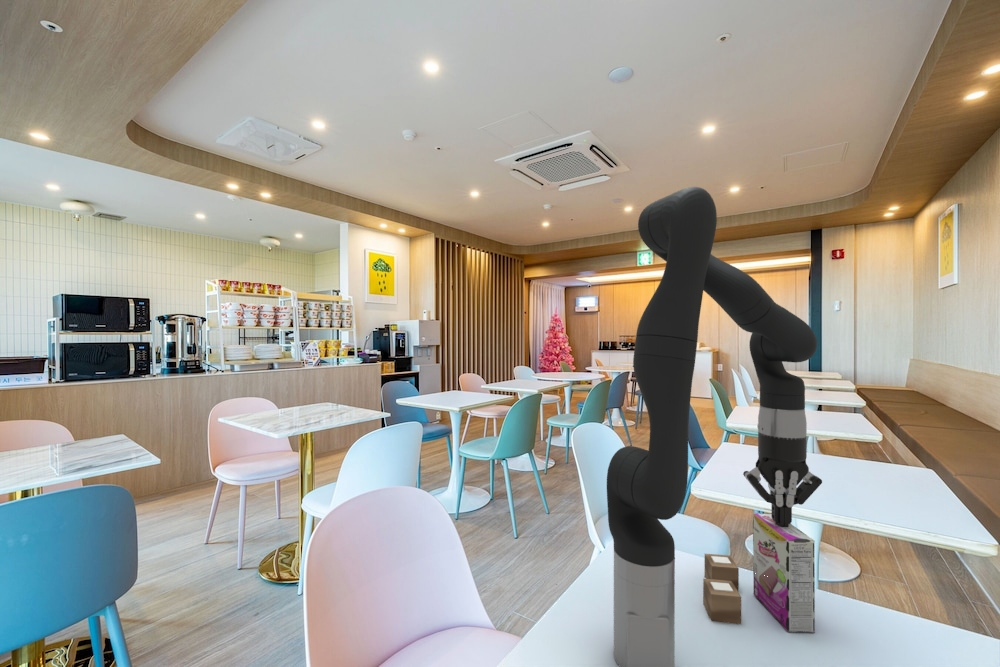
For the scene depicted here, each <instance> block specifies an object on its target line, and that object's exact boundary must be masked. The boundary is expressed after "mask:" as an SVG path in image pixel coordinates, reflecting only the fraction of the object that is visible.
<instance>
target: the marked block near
mask: <svg viewBox="0 0 1000 667" xmlns="http://www.w3.org/2000/svg"><path fill="white" fill-rule="evenodd" d="M702 581H703V582H702V584H703V586H702V590H703V591H702V592H703V594H702V595H703V596H702V599H703V600H702V601H703V603H702V605H703V606H704V607H703V608H705V611H706V612H707V615H708V617H709V620H710V621H711V622H714V623H725V624H732V625H735V624H736V625H742V596H741V593H740V592H738V591H737V589H736V588H735V586H734V584H733V583H732V581H725V580H714V579H706V578H703V580H702Z"/></svg>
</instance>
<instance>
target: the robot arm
mask: <svg viewBox="0 0 1000 667" xmlns="http://www.w3.org/2000/svg"><path fill="white" fill-rule="evenodd" d="M717 214H718V213H717V207H716V204H715V201H714V198H713V197H712V196H711V193H709V192H708V191H707V190H706V189H704V188H703V187H699V186H691V187H687V188H681V189H680V190H678V191H675V192H673V193H671V194H669V195H667V196H665V197H662V198H659V199H657V200H655V201H654V202H651V203H650V204H648V205H647V206H646V207H644V209H643V210H642V211H641V213H640V214H639V217H638V221H637V222H638V223H637V225H638V226H637V228H638V230H637V231H638V233H639V236H640V238H641V240H642V242H643V243H644V244H645V246H646V247H647V248H649V249H650V251H652V252H653V253H654V254H656V255H657V256H658V257H659V258H660V259H662V260H664V261H665V268H664V271H663V275H662V277H661V279H660V282H659V284H658V286H657V288H656V289H655V291H654V293H653V295H652V296H651V299H650V300H649V302H648V304H646V307H645V309H644V311H643V312H642V315H641V317H640V319H639V322H638V325H637V329H636V334H635V341H634V342H635V343H634V350H633V358H632V360H633V362H632V366H633V371H634V372H633V373H634V377H635V380H636V383H637V385H638V388H639V391H640V393H641V396H642V399H643V401H644V404H645V408H646V411H647V414H648V421H649V441H648V442H649V443H648V444H649V445H648V450H647V449H645V448H642V447H638V446H632V445H628V446H623V447H621V448H619V449H618V450H617V451H616V452H615V453H614V454H613V455H612V457H611V459H610V462H609V464H608V468H607V474H606V500H607V501H606V502H607V518H608V519H607V520H608V523H607V524H608V530H609V532H610V535H611V537H612V540H613V657H614V659H615V662H616V663H617V665H618V664H619V665H620V666H621V667H675V665H676V664H675V662H676V661H675V657H676V656H675V650H676V649H675V647H676V645H675V644H676V643H675V642H676V640H675V627H676V626H675V623H676V622H675V614H676V613H675V605H676V604H675V603H676V602H675V591H676V590H675V587H676V586H675V583H676V582H675V581H676V580H675V574H676V569H675V568H676V567H675V566H676V565H675V562H676V561H675V559H676V556H675V555H676V554H675V551H676V549H675V548H676V545H675V540H674V538H673V536H672V534H671V532H670V531H669V530H668V529H667V528H666V527H665V526H664V524H663V523H662V522H661V521H663V520H664V521H666V520H670V519H672V518H674V517H675V516H676V515H677V514H678V513H679V511H680V510H681V508H682V506H683V504H684V500H685V499H686V495H687V494H686V493H687V488H688V480H689V479H688V478H689V423H690V422H689V421H690V410H691V409H690V408H691V397H692V396H691V395H692V387H693V386H692V385H693V379H694V371H695V366H696V365H695V364H696V355H697V348H698V339H699V325H700V316H701V308H702V302H703V295H704V292H705V293H706V294H707V295H708V296H709V297H710V298H711V299H712V300H714V301H715V302H716V304H718V306H719V307H721V309H722V310H723V311H724V312H725V314H727V315H728V316H729V317H730V318H731V320H733V321H734V323H735V324H736V325H737V326H738V327H740V328H741V329H742V330H743V331H745V332H747V333H751V335H750V339H749V352H750V356H751V359H752V363H753V365H754V366H753V367H754V369H755V370H754V371H755V373H756V377H757V379H758V383H759V409H758V416H757V434H758V435H757V447H758V448H757V455H758V458H757V461H756V462H755V467H754V468H753V469H751V470H750V471H749V470H744V472H743V474H742V475H743V477H744V478H745V479H746V480H747V482H748V483H749V485H751V486H752V488H753V489H754V490H755V491H756V492H757V494H758V496H760V497H761V498H762V499H763V500H764V501H765V502H766V503H769V504H771V513H772V519H773V520H774V521H775V523H776V524H777V525H778V526H780V527H788V526H789V524H792V521H793V520H792V516H793V511H792V510H793V506H796V505H801V506H802V505H804V504H805V502H806V501H808V499H809V498H810V497H812V495H813V493H815V491H817V489H818V488H819V487H820V486H821V485H822V484H823V480H822V478H820V477H819V476H817V475H815V474H813V472H812V473H811V471H810V470H809V469H810V468H809V466H808V464H807V458H808V457H807V452H808V451H807V450H808V449H807V447H808V445H807V442H808V441H807V432H808V431H807V428H808V427H807V426H808V425H807V416H806V409H805V408H806V388H805V386H806V385H805V381H804V380H803V379H802V378H801V377H800V376H798V375H794V374H791V373H789V372H788V371H787V370H786V368H785V365H784V364H783V362H785V363H803V362H806V361H809V360H810V359H811V358H812V357H813V356H814V355H815V353H816V351H817V348H818V342H817V341H818V340H817V337H816V334H815V332H814V330H813V329H812V328H811V326H810V325H809V324H807V322H805V321H804V320H803V319H801V318H800V317H798V316H797V315H796V314H794V313H792V312H791V311H790V310H788V309H786V308H785V307H783V306H781V305H780V304H778V303H776V302H775V301H774V299H773V298H772V297H771V296H770V294H768V293H767V291H766V290H765V289H764V288H763V286H762V285H761V284H760V283H759V282H757V280H755V279H754V278H753V277H752V276H751V275H749V274H748V273H746V272H745V271H743V270H741V269H739V268H738V267H736V266H733V265H731V264H730V263H728V262H726V261H724V260H723V259H720V258H718V257H717V256H715V255H713V253H712V250H713V245H714V241H715V236H716V231H717V230H716V228H717V224H718V220H717V219H718V215H717ZM761 476H762V478H763V479H764V481H765V482H766V483H767V486H768V487H767V488H768V489H769V492H768V491H767V490H766V489H765V487H764V486H763V485H762V483H761V480H762V478H761ZM660 520H661V521H660ZM619 665H618V666H619ZM620 666H619V667H620Z"/></svg>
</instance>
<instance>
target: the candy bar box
mask: <svg viewBox="0 0 1000 667" xmlns="http://www.w3.org/2000/svg"><path fill="white" fill-rule="evenodd" d="M752 537H753V538H752V542H753V543H752V544H753V546H752V549H753V552H752V553H753V559H752V560H753V561H752V563H753V565H752V566H753V568H752V569H753V572H752V573H753V593H752V594H753V596H755V598H756V599H757V600H758V601H759V602H760V603H761V604H762V605H763V606H764V607H765V608H766V609H767V610H768V611H769V613H770V614H771V615H772V617H774V619H776V620H777V621H778V623H779V624H780V625H781V626H782V627H783V629H785V630H786V632H787V633H793V634H794V633H795V634H797V633H799V634H800V633H802V634H804V633H806V634H808V633H809V634H810V633H811V634H813V633H815V632H816V629H815V628H816V625H815V623H816V622H815V621H816V620H815V617H816V612H815V607H816V606H815V603H816V602H815V598H816V597H815V592H816V590H815V583H816V581H815V576H816V575H815V565H816V564H815V542H816V541H815V540H814V538H812V537H810V536H808V535H807V534H806V533H804V532H803V531H801V530H800V529H799V528H797V527H796V526H794V525H793V524H792V523H791V524H789V526H788V527H780V526H778V525H777V524H776V523H775V521H774V520H773V519H772V512H770V513H767V512H766V513H765V512H764V513H763V512H762V513H760V512H755V513H752ZM755 573H756V574H755ZM764 575H765V576H764ZM767 576H768V577H767Z"/></svg>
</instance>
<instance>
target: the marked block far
mask: <svg viewBox="0 0 1000 667" xmlns="http://www.w3.org/2000/svg"><path fill="white" fill-rule="evenodd" d="M739 570H740V568H739V567H738V564H736V562H735V561H734V559H733V558H732V556H731V555H728V554H727V555H726V554H715V553H704V579H714V580H725V581H732V583H733V584H734V586H735V588H736V589H737V591H738V592H739V587H740V586H739V582H740V581H739V579H740V578H739V574H740V573H739ZM739 593H740V592H739Z"/></svg>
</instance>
